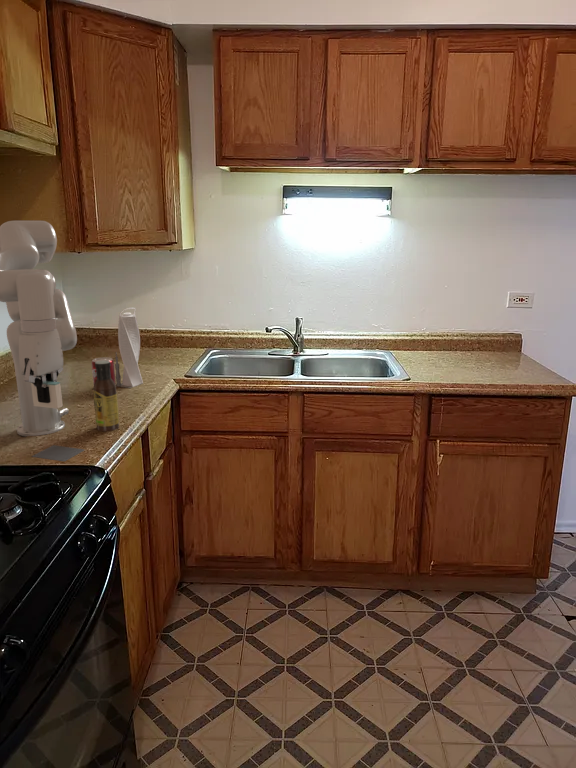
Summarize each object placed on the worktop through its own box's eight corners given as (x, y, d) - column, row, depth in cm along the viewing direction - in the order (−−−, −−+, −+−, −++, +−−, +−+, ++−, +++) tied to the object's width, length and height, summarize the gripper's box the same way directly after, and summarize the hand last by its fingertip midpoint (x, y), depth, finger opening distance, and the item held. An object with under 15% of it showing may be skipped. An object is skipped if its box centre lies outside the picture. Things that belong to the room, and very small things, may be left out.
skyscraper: (130, 381, 216) (125, 306, 209) (148, 383, 213) (142, 307, 205) (115, 386, 209) (108, 309, 201) (132, 389, 205) (126, 310, 198)
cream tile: (62, 406, 140) (60, 382, 139) (57, 408, 139) (55, 384, 137) (38, 403, 142) (36, 379, 141) (33, 405, 141) (30, 381, 139)
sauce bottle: (94, 428, 165) (88, 360, 160) (117, 424, 168) (111, 357, 163) (99, 435, 160) (92, 365, 155) (122, 431, 163) (116, 362, 157)
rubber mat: (53, 447, 151) (53, 445, 151) (85, 451, 148) (85, 449, 148) (31, 458, 144) (31, 456, 144) (64, 463, 141) (64, 461, 141)
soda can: (107, 397, 195) (104, 362, 192) (89, 395, 197) (86, 361, 194) (120, 391, 202) (118, 358, 198) (103, 389, 204) (100, 356, 201)
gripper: (48, 320, 144) (56, 391, 149) (0, 330, 129) (11, 409, 134) (74, 321, 141) (81, 393, 146) (27, 332, 127) (37, 412, 132)
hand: (47, 400), depth 140 cm, fingers closed on cream tile, 1 cm apart
